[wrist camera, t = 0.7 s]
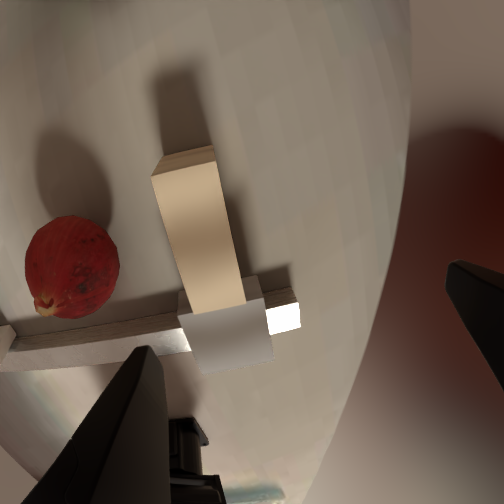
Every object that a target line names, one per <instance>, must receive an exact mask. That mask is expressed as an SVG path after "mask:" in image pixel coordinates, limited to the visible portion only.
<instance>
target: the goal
mask: <svg viewBox="0 0 504 504" xmlns="http://www.w3.org/2000/svg"><path fill="white" fill-rule="evenodd" d="M16 335H17V334H16V333H15V331H14V330H13V328H12V327H11V325H5V326H0V365H1V364H2V362H3V360H4V358H5V356H6V354H7V352H8V350H9V348H10V346H11V344H12V342H13V340H14V338H15V337H16Z"/></svg>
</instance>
